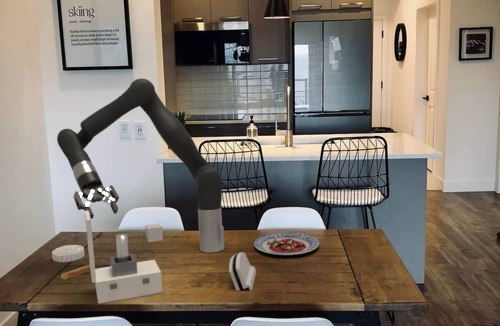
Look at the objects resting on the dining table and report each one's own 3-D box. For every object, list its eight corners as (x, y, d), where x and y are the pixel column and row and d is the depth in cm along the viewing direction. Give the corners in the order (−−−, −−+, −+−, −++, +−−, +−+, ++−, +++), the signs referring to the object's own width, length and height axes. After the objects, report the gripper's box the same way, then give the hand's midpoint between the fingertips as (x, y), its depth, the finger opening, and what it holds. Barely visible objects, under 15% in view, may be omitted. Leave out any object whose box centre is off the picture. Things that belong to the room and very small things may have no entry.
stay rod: (128, 268, 166) (126, 233, 164) (130, 271, 163) (128, 236, 161) (117, 269, 165) (115, 234, 163) (118, 273, 161) (116, 237, 160)
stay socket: (134, 265, 168) (133, 253, 168) (137, 273, 161) (136, 261, 161) (110, 268, 166) (109, 257, 165) (112, 277, 159) (112, 265, 158)
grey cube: (159, 236, 221) (159, 223, 220) (162, 240, 215) (161, 226, 214) (146, 238, 219) (145, 225, 218) (148, 242, 213) (147, 228, 212)
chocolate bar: (60, 279, 178) (59, 273, 178) (90, 268, 187) (89, 262, 187) (64, 280, 176) (63, 274, 176) (94, 270, 185) (93, 264, 185)
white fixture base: (155, 278, 174) (150, 203, 169) (162, 293, 162) (157, 212, 158) (91, 289, 167) (84, 210, 162) (94, 305, 155) (86, 220, 151)
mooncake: (53, 254, 203) (52, 246, 202) (84, 250, 206) (83, 242, 206) (51, 264, 191) (50, 255, 191) (84, 260, 195) (84, 251, 195)
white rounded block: (251, 291, 162) (240, 263, 161) (238, 295, 163) (226, 267, 162) (256, 270, 178) (245, 245, 177) (244, 275, 179) (233, 249, 178)
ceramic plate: (332, 249, 198) (332, 242, 198) (280, 264, 184) (280, 257, 184) (291, 233, 219) (291, 227, 219) (241, 246, 205) (241, 239, 205)
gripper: (69, 173, 168) (86, 213, 162) (108, 167, 178) (126, 204, 171) (64, 186, 173) (81, 225, 167) (103, 180, 182) (120, 216, 176)
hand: (104, 214), depth 169 cm, fingers open, 8 cm apart
